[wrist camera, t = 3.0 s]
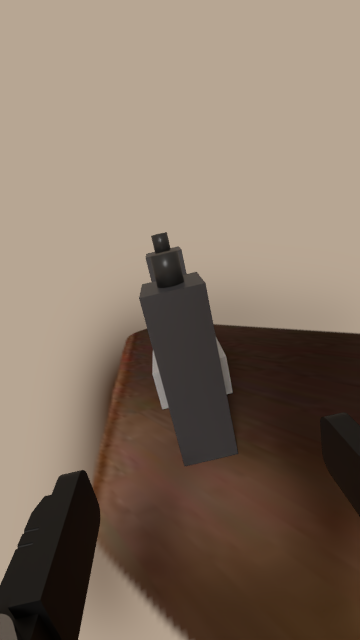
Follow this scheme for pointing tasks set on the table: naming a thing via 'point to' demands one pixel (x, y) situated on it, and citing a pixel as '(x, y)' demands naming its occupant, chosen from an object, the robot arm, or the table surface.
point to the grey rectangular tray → (160, 385)
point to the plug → (188, 360)
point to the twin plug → (161, 246)
